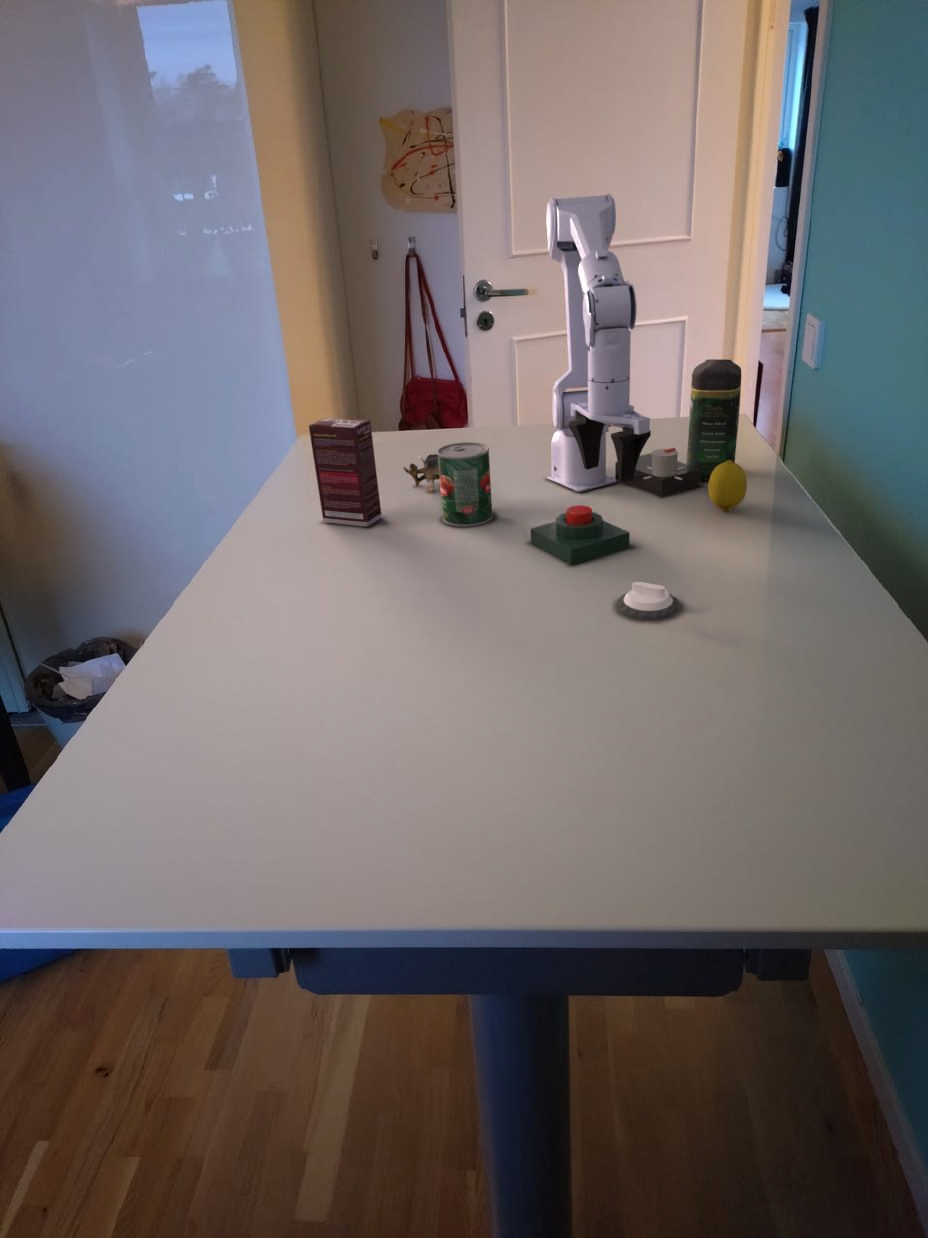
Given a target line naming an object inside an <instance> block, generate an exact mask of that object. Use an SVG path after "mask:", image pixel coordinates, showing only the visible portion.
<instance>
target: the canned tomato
mask: <svg viewBox="0 0 928 1238" xmlns="http://www.w3.org/2000/svg"><path fill="white" fill-rule="evenodd" d="M489 451H490V447H489V446H488V445H487V444H484V443H481V442H471V441H470V442H468V441H467V442H463V441H462V442H455V443H450V444H446V445H444V446H441V447H439V448H438V449H437V451H436V454H438V464H439V476H440V480H439V485H440V487H439V488H440V499H441V511H442V521H443V522H444V523H445V524H446V525H449V526H452V527H458V528H459V527H460V528H469V527H470V528H471V527H476V526H477V527H478V526H481V525H484V524H486V523H489V522H490V521H491V520H492V519H493V517H494V514H493V502H492V500H493V499H492V487H491V486H492V484H491V465H490V453H489Z"/></svg>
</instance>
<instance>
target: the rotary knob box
mask: <svg viewBox="0 0 928 1238" xmlns="http://www.w3.org/2000/svg"><path fill="white" fill-rule="evenodd" d="M614 469H615V470H614V471H615V473H614V474H615V475H614V476H615V478H614V479H616V480H617V481H619V478H618V469H617V461H615V468H614ZM651 469H652V452H651V453H650V452H649V453H646V454H641V455H640V456H639V459H638V462H637V465H636V469H635V472H634V476H633V479H630V480H627V481H623V482H622V483H624V484H627V485H630V486H631V487H635V488H638V489H641V490H643V491H645V492H648V493H650V494H652V495H656V496H658V497H660V498H664V497H668V496H671V495H675V494H679V493H682V492H685V491H688V490H692V489H696V488H700V487H701V479H700V476H701V469H699V468H696V467H693V466H690V465H687V463H684V462H682V461H678V460H677V474H676V475H674V476H671V477H657V476H654V475H652V473H651Z"/></svg>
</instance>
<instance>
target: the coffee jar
mask: <svg viewBox="0 0 928 1238" xmlns="http://www.w3.org/2000/svg"><path fill="white" fill-rule="evenodd" d="M741 392H742V368H741V367H740V365H738V364H737V363H735V362H734V361H732V359H726V358H725V359H723V358H722V359H718V358H717V359H716V358H715V359H714V358H713V359H711V358H710V359H706V360H705V361H703V362H702V363H699V364H698V365H696V366H695V367H694V369H693V371H692V374H691V385H690V399H689V417H688V419H689V421H688V439H687V451H686V453H687V454H686V464H687V465H690V466H693V467H696V468H699V469H701V476H700V480H702V481H709V479H710V476H711V474H712V472H713V470H714V469H715V468H716V467H717V466H718V465H720V464H722V463H725V462H726V461H727V460H731V461H732V462H733V463H735V462H736V451H737V440H738V431H739V430H738V429H739V420H740V409H741V394H742V393H741Z"/></svg>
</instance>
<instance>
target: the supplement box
mask: <svg viewBox="0 0 928 1238" xmlns="http://www.w3.org/2000/svg"><path fill="white" fill-rule="evenodd" d="M308 430H309V431H308V432H309V438H310V443H311V451H312V456H313V457H312V458H313V463H314V469H315V476H316V481H317V488H318V489H317V490H318V495H319V496H318V497H319V503H320V509H321V516H322V521H323V523H326V524H336V525H346V526H356V527H366V528H368V527H370V526H371V525H373V524H375V523H376V522H377V521H379V520H380V519H382V509H381V499H380V493H379V491H380V490H379V484H378V475H377V466H376V458H375V450H374V441H373V432H372V425H371V420H369V419H349V418H332V417H331V418H328V417H324V418H321V419H319V420H317V421H315V422H312V423H311V424H309V425H308Z"/></svg>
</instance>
